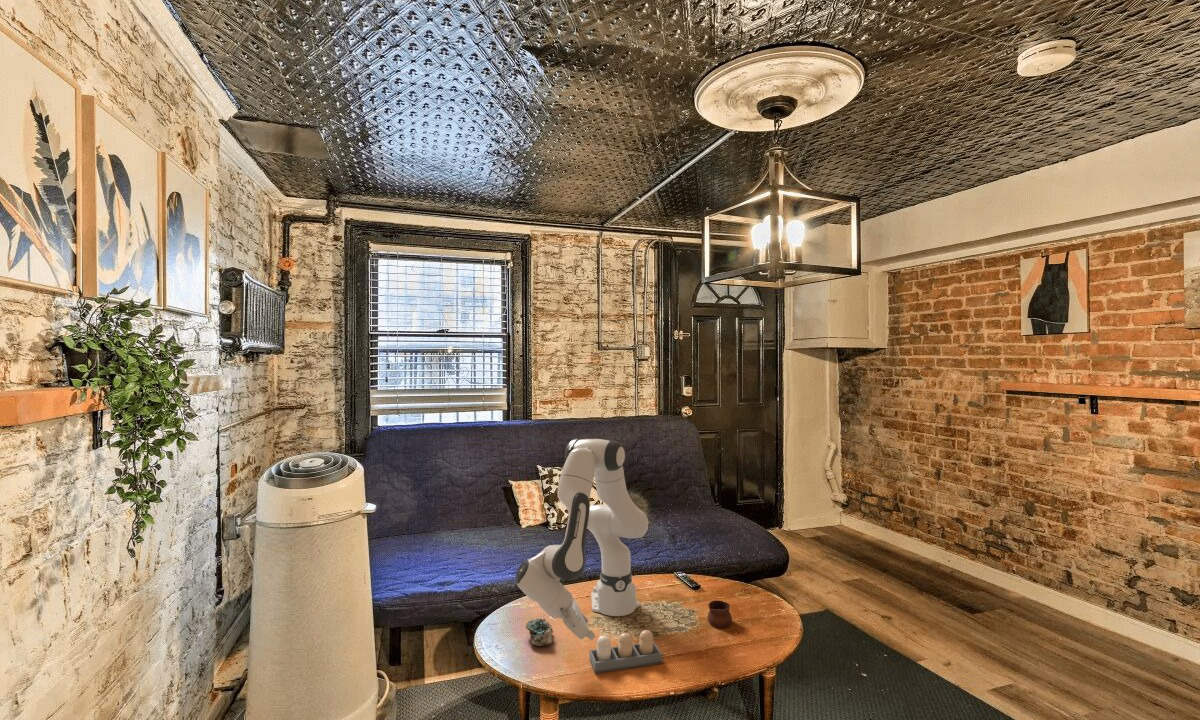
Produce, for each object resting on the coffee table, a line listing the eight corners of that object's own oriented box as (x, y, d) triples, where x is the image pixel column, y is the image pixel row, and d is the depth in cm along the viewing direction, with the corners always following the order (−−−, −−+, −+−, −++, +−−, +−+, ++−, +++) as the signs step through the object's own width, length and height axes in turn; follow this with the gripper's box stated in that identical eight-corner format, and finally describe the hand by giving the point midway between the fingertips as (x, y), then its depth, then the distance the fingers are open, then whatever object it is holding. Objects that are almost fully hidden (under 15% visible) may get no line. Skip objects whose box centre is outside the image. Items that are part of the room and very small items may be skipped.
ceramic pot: (687, 629, 195) (687, 609, 195) (703, 608, 211) (703, 590, 210) (738, 641, 186) (738, 621, 186) (751, 619, 202) (751, 600, 202)
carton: (589, 660, 175) (589, 632, 175) (653, 650, 180) (653, 623, 180) (595, 673, 168) (594, 644, 167) (661, 663, 173) (661, 635, 173)
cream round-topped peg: (595, 659, 174) (595, 633, 174) (609, 657, 175) (608, 632, 175) (598, 667, 170) (598, 640, 169) (612, 665, 171) (612, 638, 171)
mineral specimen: (524, 631, 192) (523, 613, 189) (550, 624, 195) (549, 607, 192) (532, 660, 181) (532, 642, 178) (559, 652, 184) (559, 635, 181)
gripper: (571, 609, 159) (605, 638, 161) (559, 580, 179) (589, 606, 181) (556, 626, 158) (590, 655, 160) (546, 596, 178) (576, 622, 180)
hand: (589, 629), depth 171 cm, fingers open, 8 cm apart
